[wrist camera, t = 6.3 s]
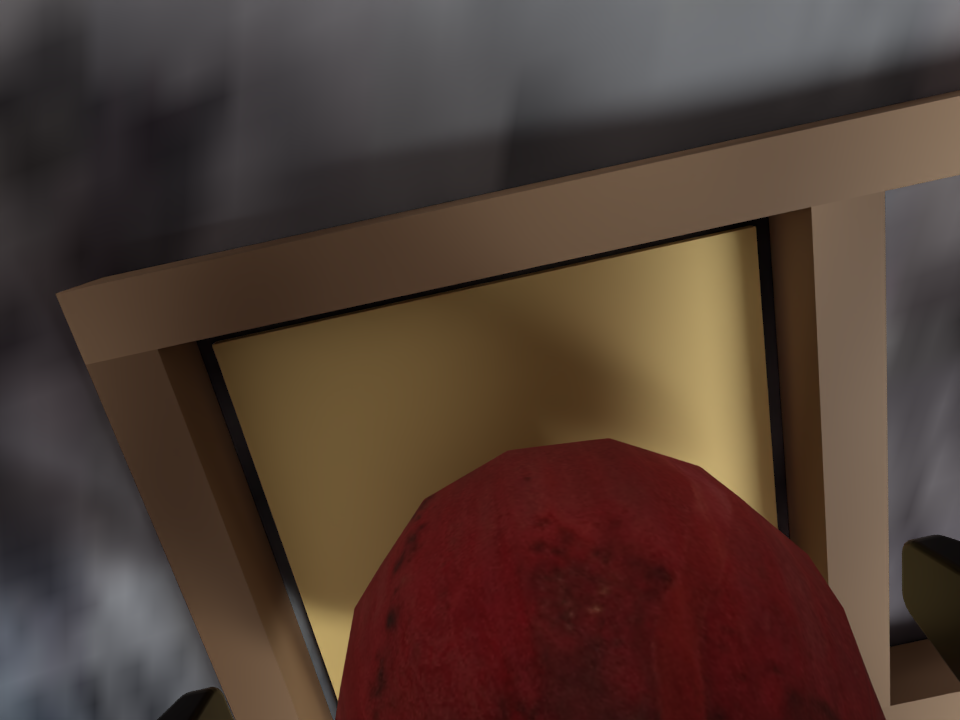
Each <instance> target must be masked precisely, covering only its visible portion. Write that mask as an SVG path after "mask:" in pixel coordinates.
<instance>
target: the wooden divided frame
mask: <svg viewBox="0 0 960 720" xmlns="http://www.w3.org/2000/svg"><path fill="white" fill-rule="evenodd" d="M956 175H960V90H958V91H953V92H949V93H944V94H940V95H935V96H930V97H926V98H921V99H917V100H912V101H908V102H903V103H898V104H894V105H889V106H885V107H880V108H876V109H871V110H866V111H862V112H857V113H853V114H848V115H844V116H839V117H834V118H830V119H825V120H821V121H816V122H812V123H807V124H802V125H798V126H793V127H789V128H784V129H780V130H775V131H770V132H766V133H761V134H757V135H752V136H748V137H743V138H738V139H734V140H729V141H725V142H720V143H716V144H711V145H706V146H702V147H697V148H693V149H688V150H684V151H679V152H674V153H670V154H665V155H661V156H656V157H652V158H647V159H642V160H638V161H633V162H629V163H624V164H620V165H615V166H610V167H606V168H601V169H597V170H592V171H588V172H583V173H578V174H574V175H569V176H565V177H560V178H556V179H551V180H546V181H542V182H537V183H533V184H528V185H524V186H519V187H514V188H510V189H505V190H501V191H496V192H492V193H487V194H482V195H478V196H473V197H469V198H464V199H460V200H455V201H450V202H446V203H441V204H437V205H432V206H428V207H423V208H418V209H414V210H409V211H405V212H400V213H396V214H391V215H386V216H382V217H377V218H373V219H368V220H364V221H359V222H354V223H350V224H345V225H341V226H336V227H332V228H327V229H322V230H318V231H313V232H309V233H304V234H300V235H295V236H290V237H286V238H281V239H277V240H272V241H268V242H263V243H258V244H254V245H249V246H245V247H240V248H236V249H231V250H226V251H222V252H217V253H213V254H208V255H204V256H199V257H194V258H190V259H185V260H181V261H176V262H172V263H167V264H162V265H158V266H153V267H149V268H144V269H140V270H135V271H130V272H126V273H121V274H117V275H112V276H108V277H103V278H100V279H97V280H94V281H91V282H88V283H85V284H82V285H79V286H76V287H73V288H71V289H68V290H65V291H62V292H59V293H56V296H57V299H58V301H59V303H60V306H61V308H62V311H63V313H64V315H65V318H66V320H67V322H68V325H69V327H70V329H71V332H72V334H73V337H74V339H75V341H76V344H77V346H78V348H79V351H80V353H81V356H82V358H83V360H84V363H85V365H86V367H87V370H88V372H89V374H90V377H91V379H92V382H93V384H94V386H95V389H96V391H97V393H98V396H99V398H100V400H101V403H102V405H103V408H104V410H105V412H106V415H107V417H108V419H109V422H110V424H111V426H112V429H113V431H114V434H115V436H116V438H117V441H118V443H119V445H120V448H121V450H122V452H123V455H124V457H125V460H126V462H127V464H128V467H129V469H130V471H131V474H132V476H133V478H134V481H135V483H136V486H137V488H138V490H139V493H140V495H141V497H142V500H143V502H144V504H145V507H146V509H147V512H148V514H149V516H150V519H151V521H152V523H153V526H154V528H155V530H156V533H157V535H158V538H159V540H160V542H161V545H162V547H163V549H164V552H165V554H166V556H167V559H168V561H169V564H170V566H171V568H172V571H173V573H174V575H175V578H176V580H177V583H178V585H179V587H180V590H181V592H182V594H183V597H184V599H185V601H186V604H187V606H188V609H189V611H190V613H191V616H192V618H193V620H194V623H195V625H196V627H197V630H198V632H199V635H200V637H201V639H202V642H203V644H204V646H205V649H206V651H207V653H208V656H209V658H210V661H211V663H212V665H213V668H214V670H215V672H216V675H217V677H218V679H219V682H220V684H221V687H222V689H223V691H224V694H225V696H226V698H227V701H228V703H229V705H230V708H231V710H232V713H233V715H234V717H235V720H333V719H332V716H331V713H330V710H329V708H328V705H327V702H326V699H325V696H324V694H323V691H322V688H321V685H320V683H319V680H318V677H317V674H316V672H315V669H314V666H313V663H312V661H311V658H310V655H309V652H308V649H307V647H306V644H305V641H304V638H303V636H302V633H301V630H300V627H299V625H298V622H297V619H296V616H295V614H294V611H293V608H292V605H291V602H290V600H289V597H288V594H287V591H286V589H285V586H284V583H283V580H282V578H281V575H280V572H279V569H278V566H277V564H276V561H275V558H274V555H273V553H272V550H271V547H270V544H269V542H268V539H267V536H266V533H265V531H264V528H263V525H262V522H261V519H260V517H259V514H258V511H257V508H256V506H255V503H254V500H253V497H252V495H251V492H250V489H249V486H248V484H247V481H246V478H245V475H244V472H243V470H242V467H241V464H240V461H239V459H238V456H237V453H236V450H235V448H234V445H233V442H232V439H231V437H230V434H229V431H228V428H227V425H226V423H225V420H224V417H223V414H222V412H221V409H220V406H219V403H218V401H217V398H216V395H215V392H214V389H213V387H212V384H211V381H210V378H209V376H208V373H207V370H206V367H205V365H204V362H203V359H202V356H201V354H200V351H199V348H198V345H197V342H196V341H197V340H202V339H206V338H211V337H216V336H220V335H225V334H229V333H234V332H239V331H243V330H248V329H252V328H257V327H262V326H266V325H271V324H275V323H280V322H285V321H289V320H294V319H298V318H303V317H308V316H312V315H317V314H321V313H326V312H331V311H335V310H340V309H344V308H349V307H354V306H358V305H363V304H367V303H372V302H377V301H381V300H386V299H390V298H395V297H400V296H404V295H409V294H413V293H418V292H423V291H427V290H432V289H436V288H441V287H446V286H450V285H455V284H459V283H464V282H469V281H473V280H478V279H482V278H487V277H492V276H496V275H501V274H505V273H510V272H514V271H519V270H524V269H528V268H533V267H537V266H542V265H547V264H551V263H556V262H560V261H565V260H570V259H574V258H579V257H583V256H588V255H593V254H597V253H602V252H606V251H611V250H616V249H620V248H625V247H629V246H634V245H639V244H643V243H648V242H652V241H657V240H662V239H666V238H671V237H675V236H680V235H685V234H689V233H694V232H698V231H703V230H708V229H712V228H717V227H721V226H726V225H731V224H735V223H740V222H744V221H749V220H754V219H758V218H763V217H767V216H769V230H770V245H771V260H772V275H773V290H774V305H775V320H776V335H777V350H778V365H779V381H780V396H781V411H782V426H783V441H784V456H785V471H786V486H787V501H788V516H789V531H790V540H791V541H792V542H794V543H795V544H796V545H797V546H798V547H800V548H801V549H802V550H803V551H804V552H806V553H807V554H808V555H809V557H810V558H811V560H812V561H813V563H814V564H815V566H816V567H817V569H818V570H819V572H820V573H821V575H822V576H823V578H824V579H825V581H826V582H827V584H828V585H829V587H830V588H831V590H832V591H833V593H834V594H835V596H836V597H837V599H838V600H839V602H840V603H841V605H842V606H843V608H844V610H845V613H846V616H847V618H848V621H849V624H850V627H851V629H852V632H853V635H854V637H855V640H856V643H857V645H858V648H859V651H860V653H861V656H862V659H863V661H864V664H865V667H866V670H867V672H868V675H869V678H870V680H871V683H872V685H873V688H874V690H875V693H876V695H877V698H878V700H879V703H880V706H881V708H882V711H883V713H884V716H885V718H886V720H960V682H959V681H958V680H957V678H956V677H955V675H954V674H953V673H952V671H951V670H950V668H949V667H948V666H947V664H946V663H945V661H944V660H943V659H942V657H941V656H940V655H939V653H938V652H937V650H936V649H935V648H934V646H933V645H932V643H931V642H930V641H929V639H926V640H921V641H916V642H911V643H907V644H902V645H897V646H892V647H890V635H889V541H888V447H887V353H886V260H885V191H887V190H891V189H896V188H901V187H905V186H910V185H914V184H919V183H924V182H928V181H933V180H937V179H942V178H947V177H951V176H956ZM212 346H213V349H214V352H215V355H216V358H217V360H218V363H219V366H220V369H221V372H222V375H223V377H224V380H225V383H226V386H227V389H228V392H229V394H230V397H231V400H232V403H233V406H234V408H235V411H236V414H237V417H238V420H239V423H240V425H241V428H242V431H243V434H244V437H245V440H246V442H247V445H248V448H249V451H250V454H251V456H252V459H253V462H254V465H255V468H256V471H257V473H258V476H259V479H260V482H261V485H262V488H263V490H264V493H265V496H266V499H267V502H268V504H269V507H270V510H271V513H272V516H273V519H274V521H275V524H276V527H277V530H278V533H279V536H280V538H281V541H282V544H283V547H284V550H285V552H286V555H287V558H288V561H289V564H290V567H291V569H292V572H293V575H294V578H295V581H296V584H297V586H298V589H299V592H300V595H301V598H302V600H303V603H304V606H305V609H306V612H307V615H308V617H309V620H310V623H311V626H312V629H313V632H314V634H315V637H316V640H317V643H318V646H319V648H320V651H321V654H322V657H323V660H324V663H325V665H326V668H327V671H328V674H329V677H330V680H331V682H332V685H333V688H334V691H335V694H336V696H337V699H338V698H339V691H340V686H341V680H342V675H343V669H344V663H345V658H346V652H347V647H348V641H349V636H350V630H351V625H352V619H353V614H354V608H355V606H356V605H357V603H358V601H359V600H360V598H361V597H362V595H363V593H364V592H365V590H366V588H367V587H368V585H369V583H370V582H371V580H372V578H373V577H374V575H375V573H376V572H377V570H378V568H379V567H380V565H381V564H382V562H383V561H384V559H385V558H386V556H387V555H388V553H389V552H390V550H391V549H392V547H393V545H394V544H395V542H396V541H397V539H398V538H399V536H400V535H401V533H402V532H403V530H404V529H405V527H406V526H407V524H408V523H409V521H410V520H411V518H412V517H413V515H414V513H415V512H416V510H417V509H418V507H419V506H420V504H421V503H422V501H423V500H424V499H425V498H427V497H429V496H430V495H432V494H434V493H436V492H437V491H439V490H441V489H442V488H444V487H446V486H448V485H449V484H451V483H453V482H454V481H456V480H458V479H460V478H461V477H463V476H465V475H466V474H468V473H470V472H472V471H473V470H475V469H477V468H478V467H480V466H482V465H484V464H485V463H487V462H489V461H490V460H492V459H494V458H496V457H497V456H499V455H501V454H502V453H504V452H506V451H508V450H514V449H522V448H530V447H538V446H546V445H554V444H562V443H570V442H578V441H586V440H595V439H605V438H611V439H614V440H617V441H621V442H624V443H627V444H630V445H633V446H637V447H640V448H643V449H646V450H649V451H653V452H656V453H659V454H662V455H666V456H669V457H672V458H675V459H678V460H682V461H685V462H688V463H691V464H694V465H698V466H700V467H702V468H703V469H704V470H705V471H707V472H708V473H709V474H711V475H712V476H713V477H714V478H716V479H717V480H718V481H720V482H721V483H722V484H724V485H725V486H726V487H727V488H729V489H730V490H731V491H733V492H734V493H735V494H736V495H738V496H739V497H740V498H741V499H742V500H744V501H745V502H746V503H747V504H748V505H750V506H751V507H752V508H753V509H754V510H756V511H757V512H758V513H759V514H760V515H762V516H763V517H764V518H765V519H766V520H767V521H769V522H770V523H771V524H772V525H773V526H775V527H776V528H777V529H778V524H777V510H776V496H775V483H774V469H773V455H772V441H771V428H770V414H769V400H768V387H767V373H766V359H765V345H764V332H763V318H762V304H761V290H760V277H759V263H758V249H757V235H756V227H755V226H750V225H749V226H745V227H740V228H735V229H731V230H726V231H722V232H717V233H712V234H708V235H703V236H699V237H694V238H689V239H685V240H680V241H676V242H671V243H666V244H662V245H657V246H653V247H648V248H643V249H639V250H634V251H630V252H625V253H620V254H616V255H611V256H607V257H602V258H597V259H593V260H588V261H584V262H579V263H575V264H570V265H565V266H561V267H556V268H552V269H547V270H542V271H538V272H533V273H529V274H524V275H519V276H515V277H510V278H506V279H501V280H496V281H492V282H487V283H483V284H478V285H473V286H469V287H464V288H460V289H455V290H450V291H446V292H441V293H437V294H432V295H427V296H423V297H418V298H414V299H409V300H404V301H400V302H395V303H391V304H386V305H381V306H377V307H372V308H368V309H363V310H358V311H354V312H349V313H345V314H340V315H335V316H331V317H326V318H322V319H317V320H312V321H308V322H303V323H299V324H294V325H289V326H285V327H280V328H276V329H271V330H266V331H262V332H257V333H253V334H248V335H243V336H239V337H234V338H230V339H225V340H220V341H216V342H215V343H214V344H213V345H212Z"/></svg>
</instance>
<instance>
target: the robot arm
mask: <svg viewBox="0 0 960 720" xmlns="http://www.w3.org/2000/svg"><path fill="white" fill-rule="evenodd" d="M902 593H903V599H904V602H905V605H906V607H907V609H908V611H909V612H910V614H911V616H912V617H913V618H914V620H915V621H916V623H917V624H918V625H919V627H920V628H921V630H922V631H923V632H924V634H925V635H926V636H927V638H928V639H929V641H930V642H931V643H932V645H933V646H934V648H935V649H936V650H937V652H938V653H939V655H940V656H941V657H942V659H943V660H944V661H945V663H946V664H947V666H948V667H949V668H950V670H951V671H952V673H953V674H954V675H955V677H956V678H957V680H958V681H959V682H960V541H958V540H955V539H952V538H949V537H946V536H942V535H931V536H926V537H921V538H917V539H912V540H909V541H907V542H906V543H905V544H904V546H903V549H902ZM157 720H234V719H233V716H232V714H231V712H230V709H229V707H228V705H227V702H226V700H225V697H224V695H223V693H222V692H221V691H220V690H219V689H218V688H215V687H210V688H205V689H201V690H196V691H191V692H188V693H186V694H184V695H182V696H181V697H180V698H179V699H178V700H177V701H176V702H175V703H174V704H173V705H172V706H171V707H170V708H169V709H168V710H167V711H166V712H165V713H163V714H162V715H161V716H160V717H159V718H158V719H157Z"/></svg>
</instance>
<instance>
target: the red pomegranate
mask: <svg viewBox="0 0 960 720" xmlns="http://www.w3.org/2000/svg"><path fill="white" fill-rule="evenodd" d="M335 720H886V718H885V716H884V713H883V711H882V708H881V706H880V703H879V700H878V698H877V695H876V693H875V690H874V688H873V685H872V683H871V680H870V678H869V675H868V672H867V670H866V667H865V664H864V661H863V659H862V656H861V653H860V651H859V648H858V645H857V643H856V640H855V637H854V635H853V632H852V629H851V627H850V624H849V621H848V618H847V616H846V613H845V610H844V608H843V606H842V605H841V603H840V602H839V600H838V599H837V597H836V596H835V594H834V593H833V591H832V590H831V588H830V587H829V585H828V584H827V582H826V581H825V579H824V578H823V576H822V575H821V573H820V572H819V570H818V569H817V567H816V566H815V564H814V563H813V561H812V560H811V558H810V557H809V555H808V554H807V553H806V552H804V551H803V550H802V549H801V548H800V547H798V546H797V545H796V544H795V543H794V542H792V541H791V540H790V539H789V538H788V537H787V536H785V535H784V534H783V533H782V532H781V531H779V530H778V529H777V528H776V527H775V526H773V525H772V524H771V523H770V522H769V521H767V520H766V519H765V518H764V517H763V516H762V515H760V514H759V513H758V512H757V511H756V510H754V509H753V508H752V507H751V506H750V505H748V504H747V503H746V502H745V501H744V500H742V499H741V498H740V497H739V496H738V495H736V494H735V493H734V492H733V491H731V490H730V489H729V488H727V487H726V486H725V485H724V484H722V483H721V482H720V481H718V480H717V479H716V478H714V477H713V476H712V475H711V474H709V473H708V472H707V471H705V470H704V469H703V468H702V467H700V466H698V465H694V464H691V463H688V462H685V461H682V460H678V459H675V458H672V457H669V456H666V455H662V454H659V453H656V452H653V451H649V450H646V449H643V448H640V447H637V446H633V445H630V444H627V443H624V442H621V441H617V440H614V439H611V438H605V439H595V440H586V441H578V442H570V443H562V444H554V445H546V446H538V447H530V448H522V449H514V450H508V451H506V452H504V453H502V454H501V455H499V456H497V457H496V458H494V459H492V460H490V461H489V462H487V463H485V464H484V465H482V466H480V467H478V468H477V469H475V470H473V471H472V472H470V473H468V474H466V475H465V476H463V477H461V478H460V479H458V480H456V481H454V482H453V483H451V484H449V485H448V486H446V487H444V488H442V489H441V490H439V491H437V492H436V493H434V494H432V495H430V496H429V497H427V498H425V499H424V500H423V501H422V503H421V504H420V506H419V507H418V509H417V510H416V512H415V513H414V515H413V517H412V518H411V520H410V521H409V523H408V524H407V526H406V527H405V529H404V530H403V532H402V533H401V535H400V536H399V538H398V539H397V541H396V542H395V544H394V545H393V547H392V549H391V550H390V552H389V553H388V555H387V556H386V558H385V559H384V561H383V562H382V564H381V565H380V567H379V568H378V570H377V572H376V573H375V575H374V577H373V578H372V580H371V582H370V583H369V585H368V587H367V588H366V590H365V592H364V593H363V595H362V597H361V598H360V600H359V601H358V603H357V605H356V606H355V608H354V614H353V619H352V625H351V630H350V636H349V641H348V647H347V652H346V658H345V663H344V669H343V675H342V680H341V686H340V691H339V698H338V705H337V711H336V718H335Z"/></svg>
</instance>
